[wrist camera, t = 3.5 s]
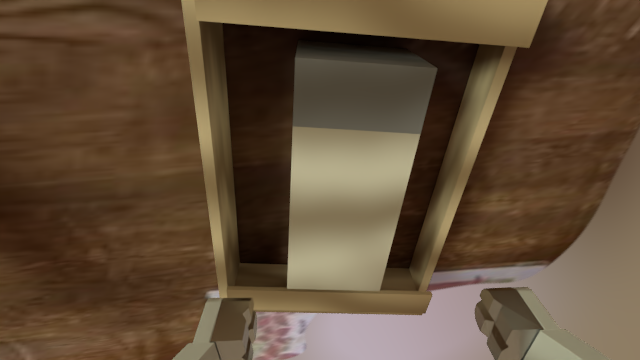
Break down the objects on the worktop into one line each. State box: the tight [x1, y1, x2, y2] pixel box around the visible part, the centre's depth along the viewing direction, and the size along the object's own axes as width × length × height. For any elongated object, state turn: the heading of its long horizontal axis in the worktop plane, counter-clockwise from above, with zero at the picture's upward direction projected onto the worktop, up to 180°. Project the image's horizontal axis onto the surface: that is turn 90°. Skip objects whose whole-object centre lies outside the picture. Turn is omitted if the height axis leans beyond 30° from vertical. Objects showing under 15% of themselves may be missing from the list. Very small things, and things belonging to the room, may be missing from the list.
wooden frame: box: [181, 0, 548, 315], centre depth 19 cm, size 21×15×4 cm
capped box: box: [287, 40, 438, 291], centre depth 19 cm, size 14×6×5 cm, turn 176°
